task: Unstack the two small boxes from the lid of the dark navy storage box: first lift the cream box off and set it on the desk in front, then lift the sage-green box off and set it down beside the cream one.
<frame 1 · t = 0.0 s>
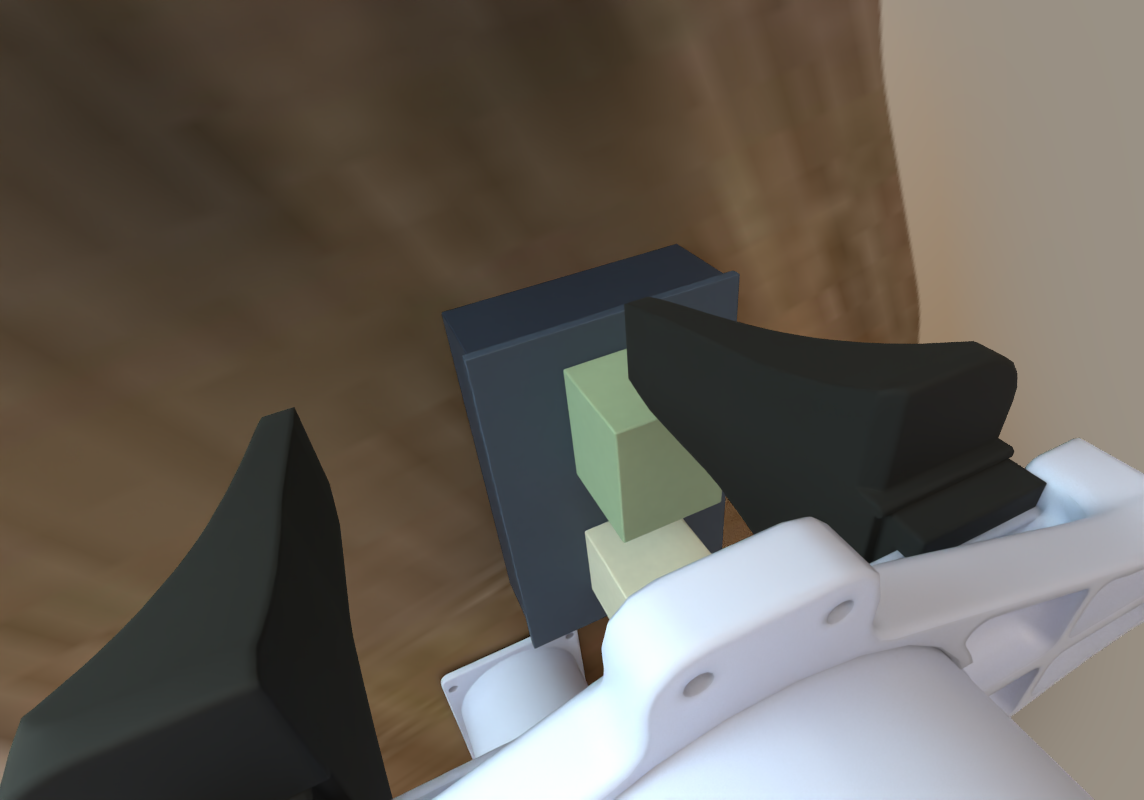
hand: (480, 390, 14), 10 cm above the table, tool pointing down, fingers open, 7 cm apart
cream box: (627, 543, 29), point 4 cm above the table, touching storage box
storage box: (583, 433, 29), on the table
sage box: (618, 407, 24), point 4 cm above the table, touching storage box
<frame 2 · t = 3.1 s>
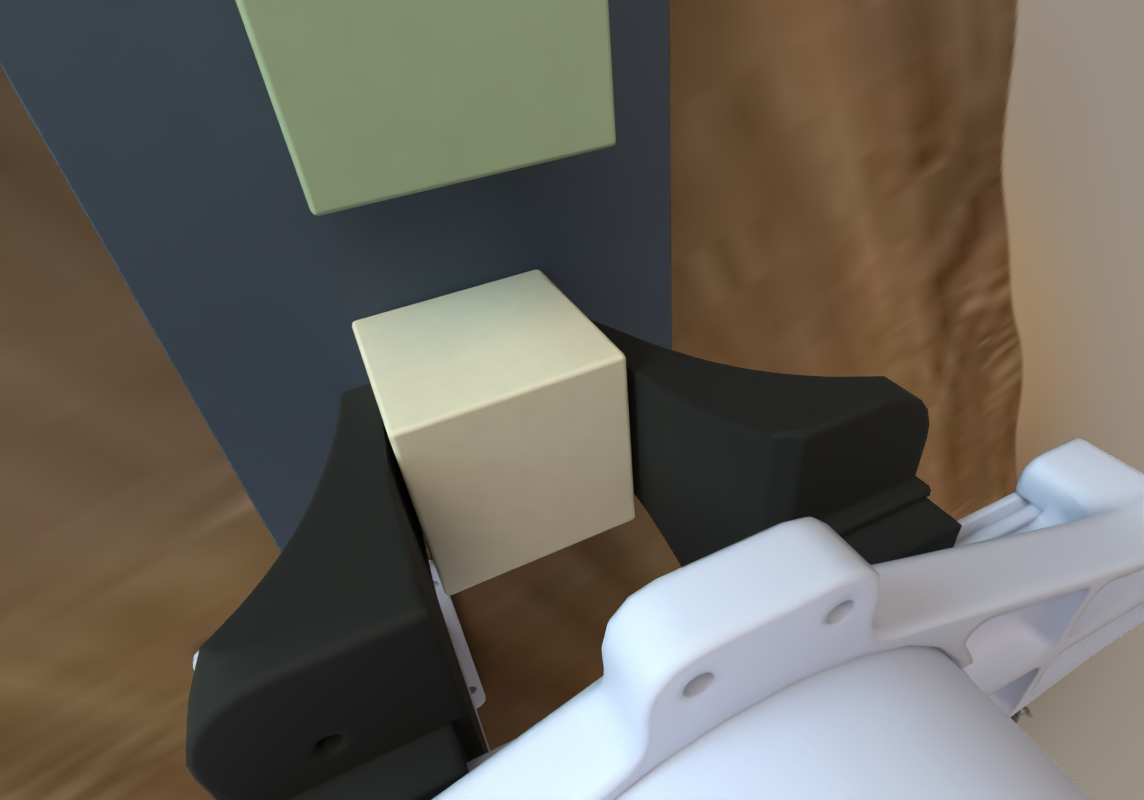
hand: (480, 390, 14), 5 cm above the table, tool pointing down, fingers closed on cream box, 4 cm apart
cream box: (467, 372, 14), point 4 cm above the table, touching gripper, storage box
storage box: (391, 164, 15), on the table
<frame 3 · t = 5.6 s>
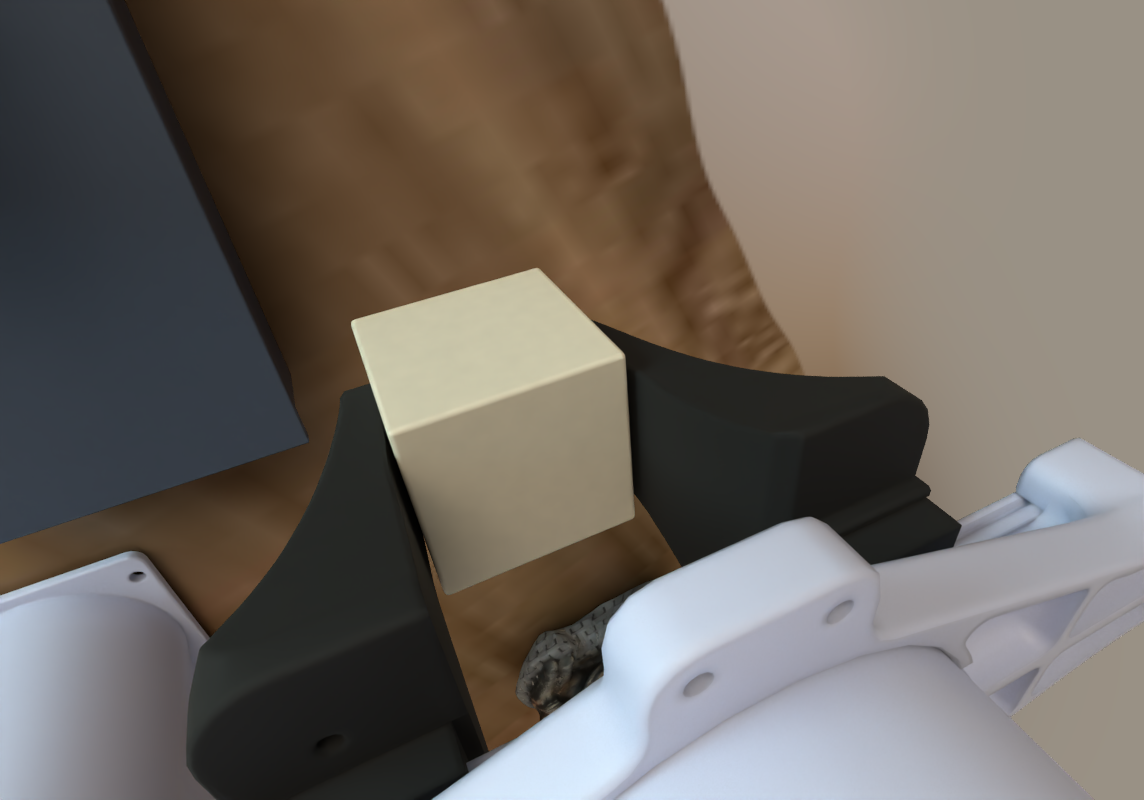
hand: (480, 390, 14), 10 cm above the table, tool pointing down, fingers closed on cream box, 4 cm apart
bison figurine: (594, 610, 37), on the table
cream box: (467, 371, 14), point 9 cm above the table, touching gripper
when the fingers open (1 cm above the table, at t = 8.2 s): cream box stays where it is, on the table.
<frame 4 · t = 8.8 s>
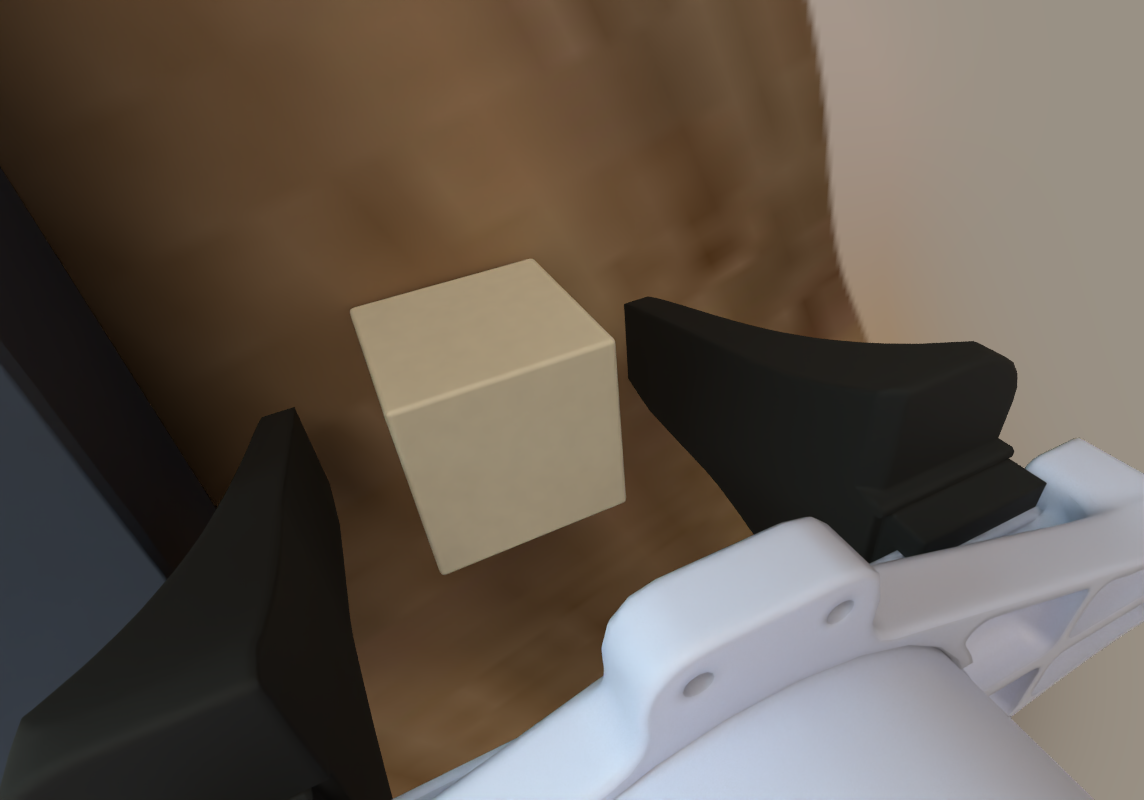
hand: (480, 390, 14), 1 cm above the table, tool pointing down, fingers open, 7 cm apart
cream box: (463, 360, 14), on the table
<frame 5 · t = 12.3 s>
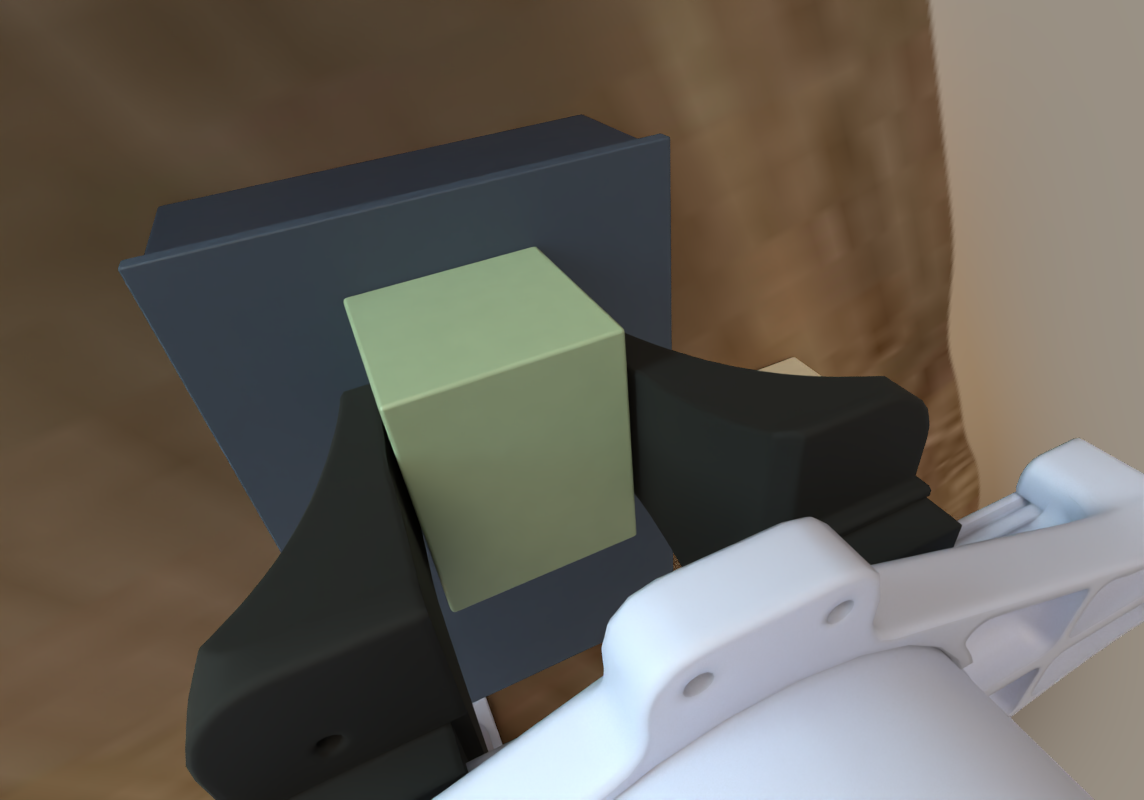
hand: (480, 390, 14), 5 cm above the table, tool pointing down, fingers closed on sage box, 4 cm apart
cream box: (747, 412, 25), on the table
storage box: (459, 420, 20), on the table
sage box: (467, 372, 14), point 4 cm above the table, touching gripper, storage box
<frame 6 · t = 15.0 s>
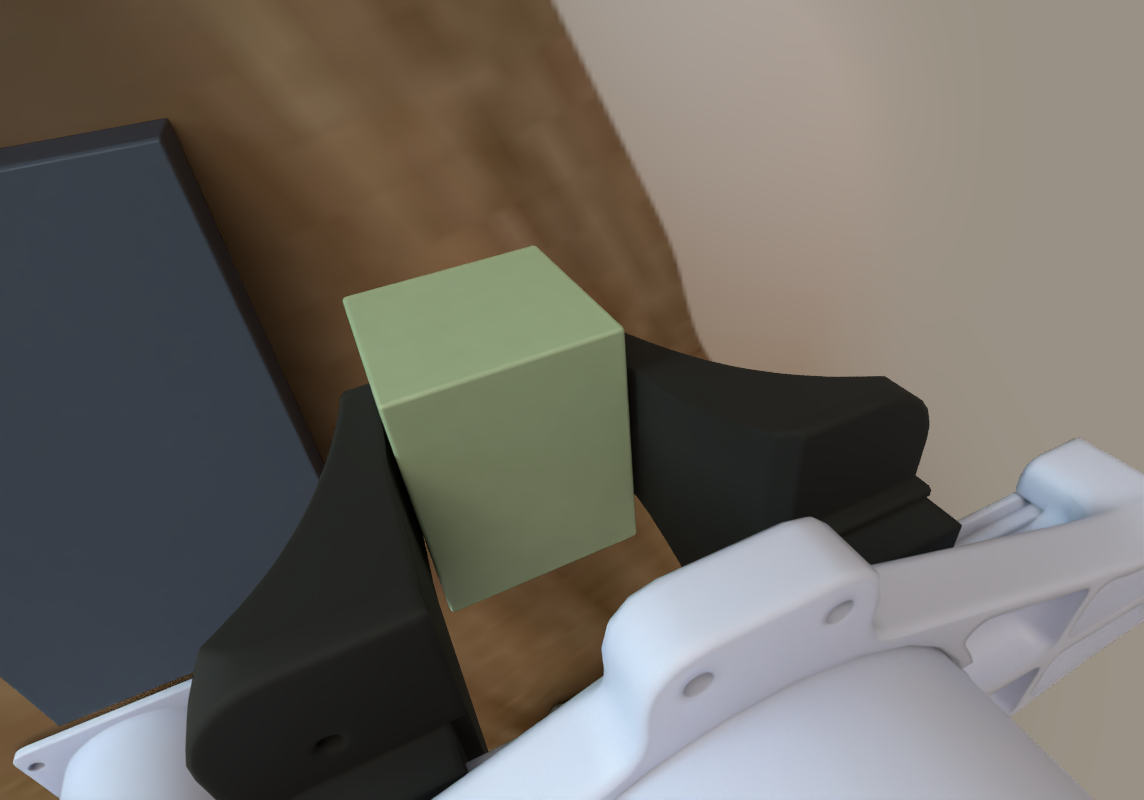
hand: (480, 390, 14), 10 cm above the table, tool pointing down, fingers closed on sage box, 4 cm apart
storage box: (118, 414, 20), on the table
sage box: (467, 372, 14), point 9 cm above the table, touching gripper
when the fingers open (1 cm above the table, at t = 17.6 s): sage box stays where it is, on the table.
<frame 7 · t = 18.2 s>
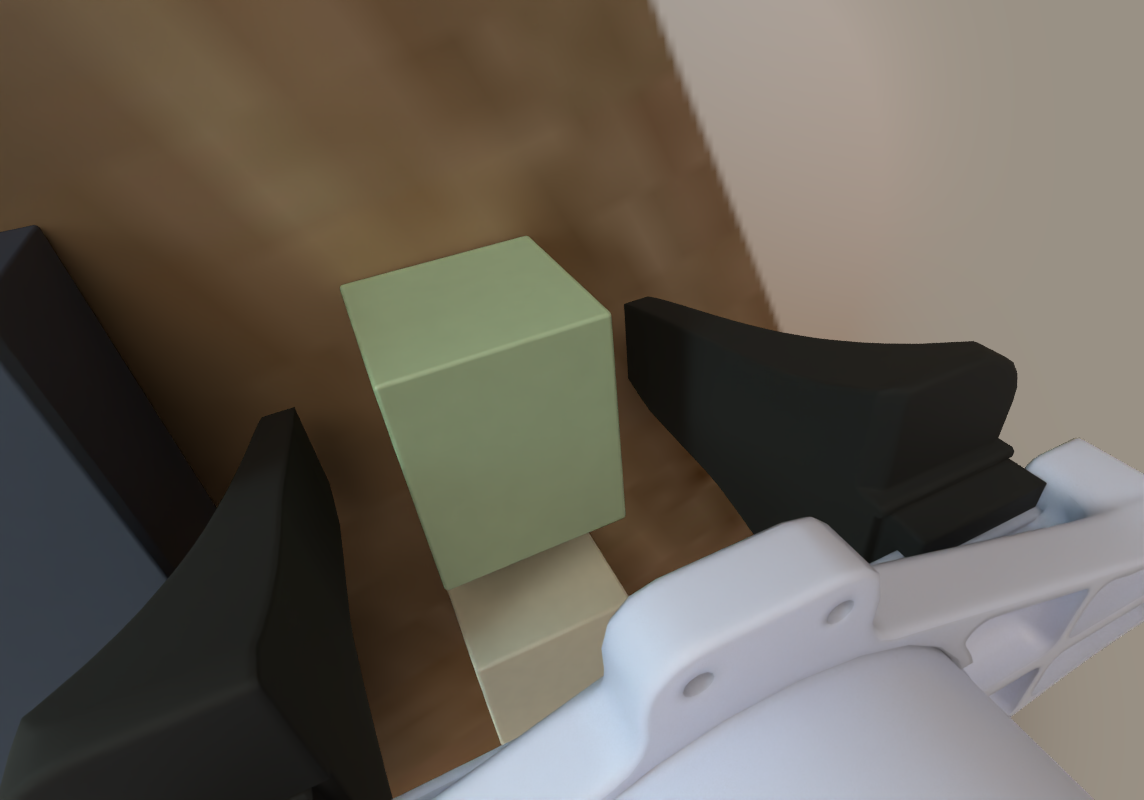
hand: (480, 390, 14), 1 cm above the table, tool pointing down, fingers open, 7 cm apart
cream box: (512, 566, 19), on the table
sage box: (461, 359, 14), on the table
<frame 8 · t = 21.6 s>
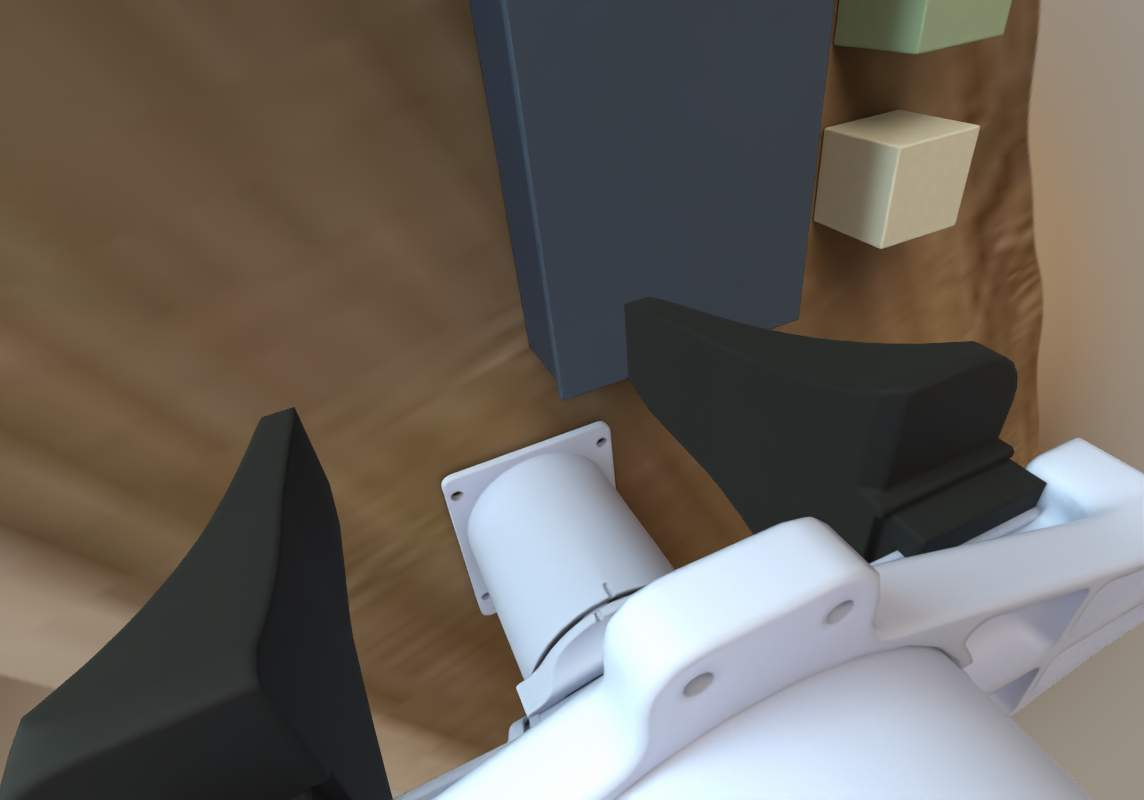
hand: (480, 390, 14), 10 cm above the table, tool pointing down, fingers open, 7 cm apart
cream box: (854, 166, 28), on the table
storage box: (626, 112, 23), on the table
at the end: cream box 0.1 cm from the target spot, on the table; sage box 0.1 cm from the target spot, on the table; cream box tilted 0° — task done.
